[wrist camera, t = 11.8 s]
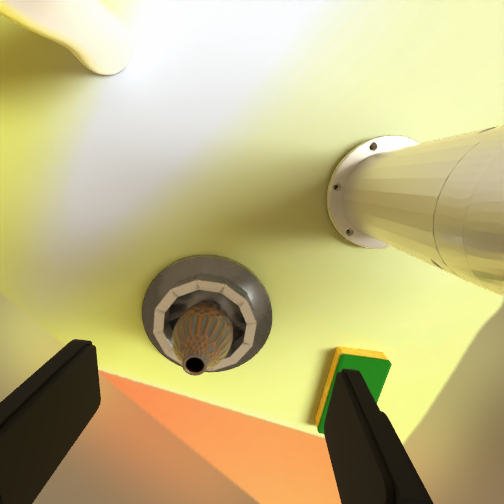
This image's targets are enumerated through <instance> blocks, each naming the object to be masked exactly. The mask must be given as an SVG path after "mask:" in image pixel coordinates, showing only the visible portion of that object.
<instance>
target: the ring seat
mask: <svg viewBox="0 0 504 504" xmlns="http://www.w3.org/2000/svg"><path fill="white" fill-rule="evenodd" d="M202 302H210V303H214V304H217V305H219V306H220V307H222V308H223V309H224V310H225V311H226V312H227V313H228V315H229V317H230V319H231V322H232V325H233V340H232V344H231V347H230V349H229V351H228V353H227V355H226V356H225V358H224V359H223V360H222V361H221V362H220V363H219V364H218V365H216V366H214V367H213V368H210V369H208V370H206V371H205V372H219V371H225V370H229V369H232V368H235V367H238V366H240V365H242V364H244V363H245V362H247V361H248V360H250V359H251V358H252V357H254V356H255V355H256V354H257V353H258V352H259V351H260V349H261V348H262V347H263V345H264V344H265V342H266V340H267V338H268V336H269V333H270V330H271V325H272V309H271V303H270V299H269V296H268V294H267V292H266V289H265V287H264V286H263V284H262V283H261V281H260V280H259V279H258V278H257V277H256V276H255V275H254V274H253V273H252V272H251V271H250V270H249V269H247V268H246V267H244V266H243V265H241V264H239V263H237V262H235V261H233V260H230V259H227V258H224V257H220V256H213V255H197V256H191V257H187V258H184V259H181V260H179V261H177V262H174V263H173V264H171V265H169V266H168V267H166V268H165V269H164V270H163V271H162V272H160V273H159V275H158V276H157V277H156V278H155V279H154V280H153V281H152V283H151V284H150V286H149V288H148V290H147V292H146V294H145V297H144V301H143V307H142V318H143V323H144V327H145V330H146V333H147V335H148V337H149V339H150V340H151V342H152V344H153V345H154V346H155V347H156V349H157V350H158V351H159V352H160V353H161V354H162V355H163V356H165V357H166V358H167V359H169V360H170V361H172V362H174V363H175V364H177V365H179V366H182V364H181V363H180V361H179V360H178V359H177V357H176V355H175V353H174V350H173V346H172V335H173V330H174V327H175V324H176V322H177V321H178V319H179V317H180V316H181V315H182V313H183V312H184V311H185V310H187V309H188V308H189V307H191V306H193V305H195V304H198V303H202ZM182 367H183V366H182Z"/></svg>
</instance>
